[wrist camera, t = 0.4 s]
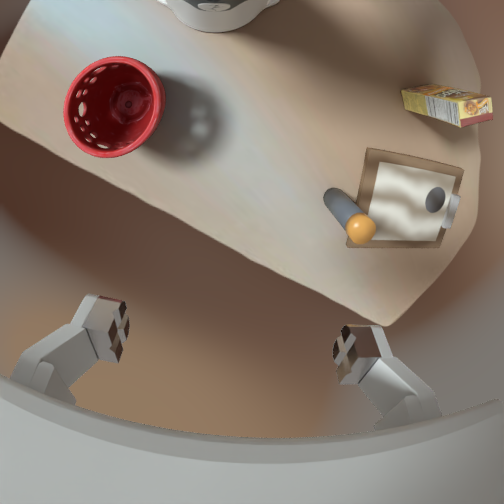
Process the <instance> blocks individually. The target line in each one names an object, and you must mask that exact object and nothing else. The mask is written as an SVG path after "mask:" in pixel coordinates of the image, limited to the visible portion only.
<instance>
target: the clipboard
mask: <svg viewBox="0 0 504 504" xmlns="http://www.w3.org/2000/svg"><path fill="white" fill-rule="evenodd" d="M463 173H464V170H463V169H462V168H459V167H455V166H451V165H448V164H444V163H440V162H436V161H432V160H428V159H423V158H419V157H415V156H410V155H405V154H400V153H395V152H390V151H385V150H379V149H373V148H368V147H367V149H366V155H365V160H364V166H363V171H362V176H361V181H360V186H359V191H358V196H357V200H356V205H357V206H358V207H359V208H360V209H361V210H362V211H363V212H364V213H365V214H366V215H368V217H369V218H370V219H371V220H372V221H373V222H374V223H375V225H376V232H375V235H374V236H373V238H372V239H371V240H370V241H369V242H367V243H365V244H356V243H354V242H353V241H352V240H351V238H350V237H349V236H348V238H347V242H346V246H347V247H348V248H439V247H440V244H441V242H442V239H443V236H444V234H445V231H446V228H451V225H452V222H453V219H454V216H455V213H456V210H457V207H458V204H459V201H460V196H459V195H457V194H458V191H459V187H460V184H461V180H462V176H463Z"/></svg>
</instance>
